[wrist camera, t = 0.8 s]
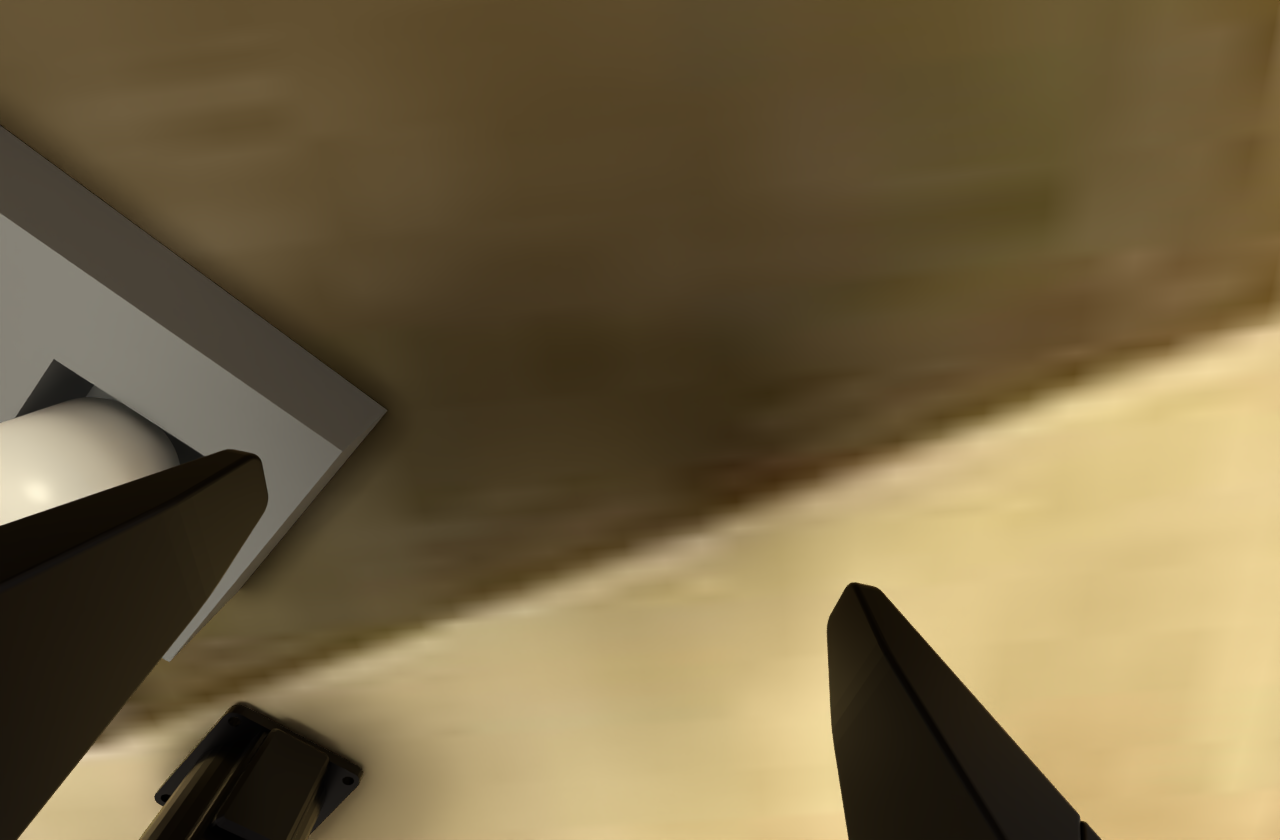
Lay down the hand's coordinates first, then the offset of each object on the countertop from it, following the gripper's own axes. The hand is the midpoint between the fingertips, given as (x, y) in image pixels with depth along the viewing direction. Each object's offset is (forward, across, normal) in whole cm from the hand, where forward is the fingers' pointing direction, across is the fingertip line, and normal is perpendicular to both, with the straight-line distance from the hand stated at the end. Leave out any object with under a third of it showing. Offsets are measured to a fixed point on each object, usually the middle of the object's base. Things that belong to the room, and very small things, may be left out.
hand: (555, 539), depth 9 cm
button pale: (+6, +14, +7) cm, 17 cm away
